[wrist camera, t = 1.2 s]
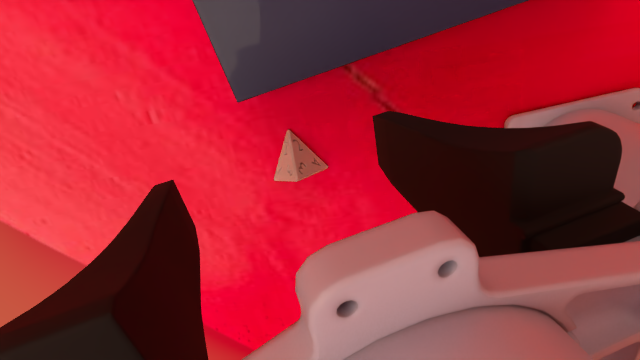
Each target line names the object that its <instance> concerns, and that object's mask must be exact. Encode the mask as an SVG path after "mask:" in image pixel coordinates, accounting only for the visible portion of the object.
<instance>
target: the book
mask: <svg viewBox="0 0 640 360" xmlns="http://www.w3.org/2000/svg"><path fill="white" fill-rule="evenodd" d="M525 1H528V0H193V3H194V5H195V7H196V9H197V12H198V14H199V16H200V19H201V21H202V23H203V25H204V28H205V30H206V32H207V34H208V37H209V39H210V41H211V43H212V46H213V48H214V50H215V52H216V55H217V57H218V59H219V62H220V64H221V66H222V68H223V71H224V73H225V75H226V77H227V80H228V82H229V84H230V86H231V89H232V91H233V93H234V95H235V98H236V100H237V102H241V101H244V100H247V99H250V98H252V97H255V96H258V95H261V94H264V93H267V92H269V91H272V90H275V89H278V88H281V87H284V86H286V85H289V84H292V83H295V82H298V81H301V80H304V79H306V78H309V77H312V76H315V75H318V74H321V73H323V72H326V71H329V70H332V69H335V68H338V67H340V66H343V65H346V64H349V63H352V62H355V61H358V60H360V59H363V58H366V57H369V56H372V55H375V54H377V53H380V52H383V51H386V50H389V49H392V48H394V47H397V46H400V45H403V44H406V43H409V42H412V41H414V40H417V39H420V38H423V37H426V36H429V35H431V34H434V33H437V32H440V31H443V30H446V29H448V28H451V27H454V26H457V25H460V24H463V23H466V22H468V21H471V20H474V19H477V18H480V17H483V16H485V15H488V14H491V13H494V12H497V11H500V10H502V9H505V8H508V7H511V6H514V5H517V4H520V3H522V2H525Z"/></svg>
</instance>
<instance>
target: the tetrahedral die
mask: <svg viewBox="0 0 640 360" xmlns="http://www.w3.org/2000/svg"><path fill="white" fill-rule="evenodd" d="M327 168H328V166H327V165H326V164H325V163H324V162H323V161H322V160H321V159H320V158H319V157H318V156H317V155H315V154H314V153H313V152H312V151H311V150H310V149H309V148H308V147H307V146H306V145H305V144H304V143H303V142H302V141H301V140H300V139H299V138H298V137H296V136H295V135H294V134H293V133H292V132H291V131H290V130H287V132H286V136H285V139H284V143H283V147H282V150H281V154H280V158H279V161H278V165H277V169H276V173H275V176H274V180H275V181H295V182H297V181H300V180H302V179H304V178H307V177H309V176H311V175H314V174H316V173H318V172H320V171H323V170H325V169H327Z"/></svg>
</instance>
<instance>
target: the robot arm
mask: <svg viewBox="0 0 640 360" xmlns="http://www.w3.org/2000/svg"><path fill="white" fill-rule="evenodd" d="M635 102H636V105H635V106H634V107H633V108H632V106H633V104H634V103H635ZM373 123H374V131H375V139H376V147H377V155H378V163H379V166H380V167H381V169H382V170H383V172H384V173H385V175H386V176H387V178H388V179H389V181H390V182H391V183H392V185H393V186H394V187H395V188H396V189H397V190H398V191H399V192H400V193H401V194H402V196H403V197H404V198H405V199H406V200H407V201H408V202H409V203H410V204H411V205H412V206H413V207H414V208H415V209H416V210H417V212H418V213H413V214H410V215H407V216H405V217H402V218H399V219H397V220H394V221H391V222H388V223H386V224H383V225H380V226H378V227H375V228H372V229H369V230H367V231H364V232H361V233H358V234H356V235H353V236H350V237H348V238H345V239H342V240H339V241H337V242H334V243H331V244H328V245H326V246H325V247H323V248H321V249H320V250H318V251H317V252H315V253H313V254H312V255H310V256H308V257H307V259H306V260H305V262H304V263H303V264H302V266H301V267H300V269H299V270H298V272H297V273H296V286H295V291H296V294H297V297H298V300H299V303H300V306H301V317H300V319H299V320H298V321H297V322H295V323H294V324H292V325H291V326H289V327H288V328H287V329H285V330H284V331H282V332H281V333H279V334H278V335H277V336H275V337H274V338H272V339H271V340H269V341H268V342H266V343H265V344H264V345H262V346H261V347H259V348H258V349H256V350H255V351H253V352H252V353H251V354H249V355H248V356H246V357H245V358H243V359H242V360H640V88H631V89H627V90H622V91H618V92H613V93H609V94H605V95H600V96H596V97H591V98H587V99H582V100H578V101H574V102H569V103H565V104H560V105H556V106H551V107H547V108H543V109H538V110H534V111H529V112H525V113H520V114H516V115H512V116H510V117H508V118H507V119H506V121H505V124H504V128H487V127H475V126H465V125H458V124H452V123H446V122H440V121H435V120H430V119H426V118H421V117H417V116H413V115H408V114H404V113H399V112H392V111H387V112H384V113H381V114H378V115H375V116H373ZM0 360H208V355H207V349H206V343H205V337H204V329H203V322H202V314H201V292H200V250H199V244H198V238H197V233H196V228H195V225H194V223H193V221H192V219H191V217H190V214H189V212H188V210H187V208H186V206H185V204H184V202H183V200H182V198H181V195H180V193H179V191H178V189H177V187H176V185H175V183H174V181H173V180H171V181H167V182H164V183H161V184H158V185H155V186H154V187H153V188H152V189H151V191H150V192H149V193H148V195H147V196H146V198H145V199H144V201H143V202H142V203H141V205H140V206H139V208H138V209H137V210H136V212H135V213H134V215H133V216H132V217H131V219H130V220H129V221H128V223H127V224H126V225H125V226H124V227H123V229H122V230H121V231H120V232H119V234H118V235H117V236H116V237H115V239H114V240H113V241H112V242H111V243H110V244H109V245H108V246H107V247H106V248H105V249H104V250H103V251H102V252H101V253H100V254H99V255H98V256H97V257H96V258H95V259H94V260H93V261H92V262H91V263H90V264H89V265H88V266H87V267H85V268H84V269H83V270H82V271H81V272H79V273H78V274H77V275H76V276H75V277H74V278H72V279H71V280H70V281H69V282H68V283H67V284H65V285H64V286H62V287H61V288H60V289H58V290H57V291H56V292H55V293H53V294H52V295H50V296H49V297H47V298H46V299H44V300H43V301H42V302H40V303H39V304H37V305H36V306H34V307H33V308H31V309H30V310H28V311H26V312H25V313H23V314H22V315H20V316H18V317H17V318H15V319H13V320H12V321H10V322H9V323H7V324H5V325H4V326H2V327H1V328H0Z"/></svg>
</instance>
